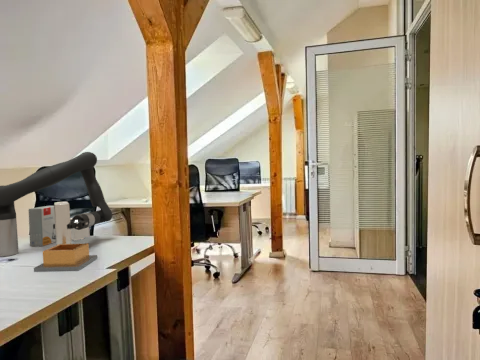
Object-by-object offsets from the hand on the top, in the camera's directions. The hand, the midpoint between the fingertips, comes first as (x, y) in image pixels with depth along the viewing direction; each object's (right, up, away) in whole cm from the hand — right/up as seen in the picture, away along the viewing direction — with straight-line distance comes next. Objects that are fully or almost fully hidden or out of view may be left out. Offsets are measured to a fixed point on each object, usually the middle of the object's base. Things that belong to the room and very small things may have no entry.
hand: (61, 226), depth 171 cm
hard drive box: (-23, -13, +29) cm, 39 cm away
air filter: (+1, -14, +1) cm, 14 cm away
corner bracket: (-10, -12, +42) cm, 45 cm away
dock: (+10, -14, -16) cm, 23 cm away
